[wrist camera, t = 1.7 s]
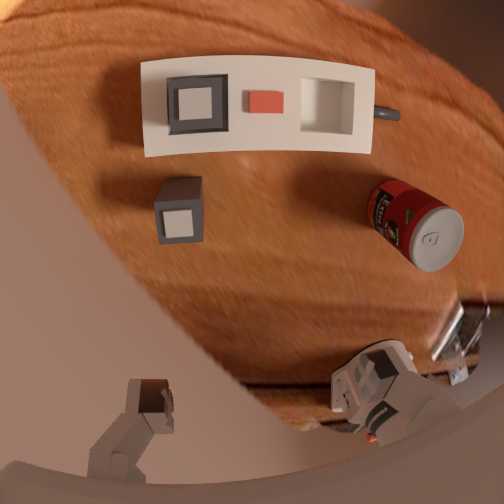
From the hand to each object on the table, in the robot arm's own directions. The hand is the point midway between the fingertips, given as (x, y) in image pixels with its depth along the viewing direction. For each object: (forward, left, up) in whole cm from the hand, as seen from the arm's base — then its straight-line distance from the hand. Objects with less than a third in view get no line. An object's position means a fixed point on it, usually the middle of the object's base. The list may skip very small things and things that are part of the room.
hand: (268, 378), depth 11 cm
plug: (0, +5, -25) cm, 25 cm away
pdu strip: (+10, -6, -25) cm, 27 cm away
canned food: (-2, -21, -25) cm, 33 cm away
